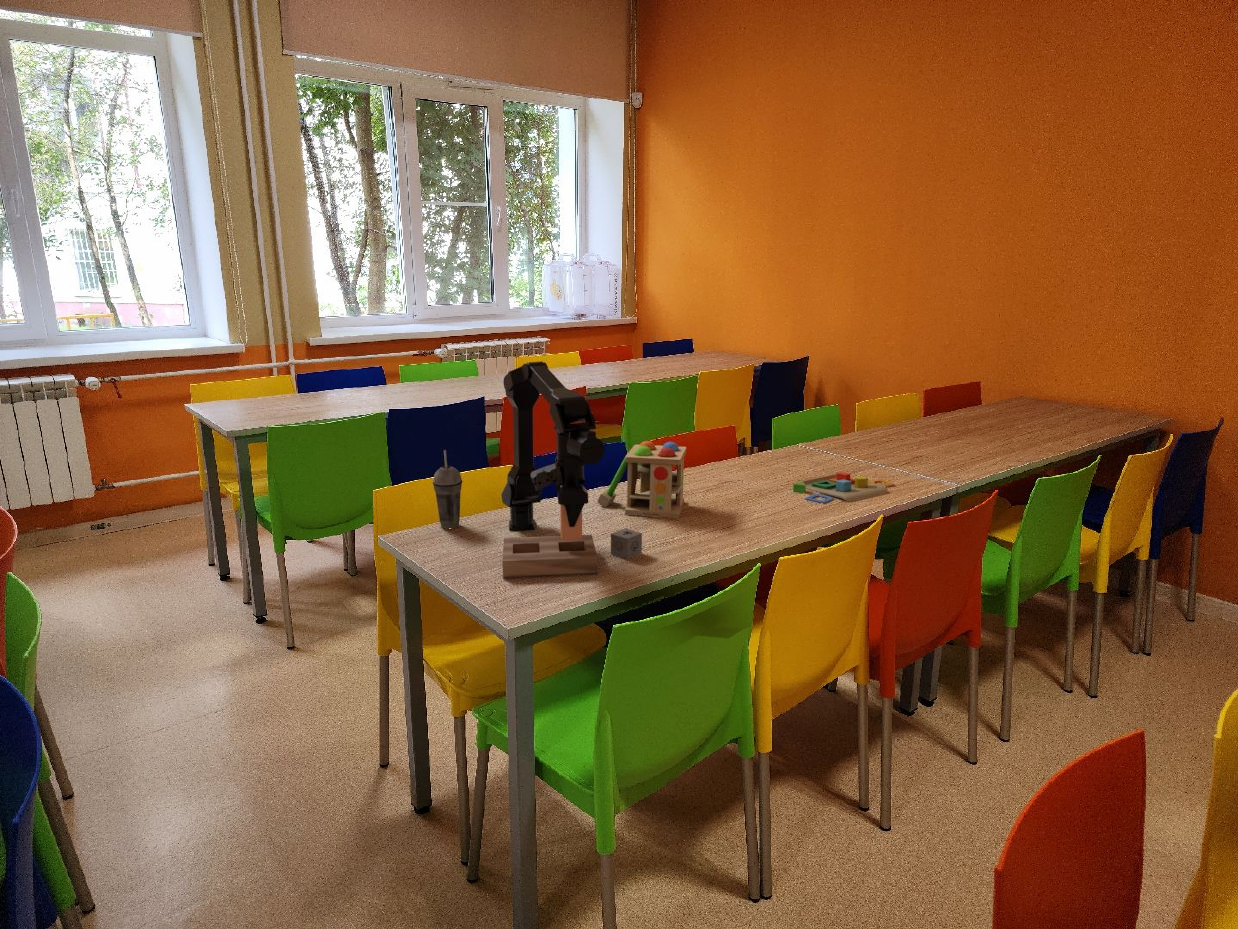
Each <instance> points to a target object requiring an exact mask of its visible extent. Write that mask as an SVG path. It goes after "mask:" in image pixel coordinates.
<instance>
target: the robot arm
mask: <svg viewBox="0 0 1238 929" xmlns="http://www.w3.org/2000/svg"><path fill="white" fill-rule="evenodd" d="M502 382H503V387H504V390H505V396H506V398H507V400H508V401H509V402H510V405H512V423H513V424H512V427H513V428H512V430H513V431H512V432H513V433H512V435H513V437H512V438H513V464H512V466H511V468H510V470H509V471H508V473H507V481H506V484H505V486H504V488H503V490H502V492H501V496H500V497H501V502H502V504H504V505H505V506H506V507H508V508H509V512H510V513H509V514H510V515H509V516H510V520H508V521H509V522H508V530H509V531H520V530H521V531H525V530H526V531H527V530H535V529H536V520H535V519H534V504H537V503H541V502H542V496H543V495H542V494H543V489H544V488H546V487H548V486H551V485H554V484H556V485H555V488H556V491H557V502H558V505H559V506H560V505H564V506H565V508H566V513H567V518H568V522H569V527H575V524H576V522H577V520H578V517H579V515H580V513H581V511H582V512H583V508H584V507H585V505H586V504H589V492H588V489H587V488H586V487H585V486H584V485H585V483H586V482H585V480H586V479H585V464H586V465H589V466H594V465H596V464H598V463H599V462H600V461H601V460H602V459H603V457H604V455H605V451H606V449H605V448H606V447H605V445H604V442H603V441H602V440H601V439H600V438H598V437H597V432H596V431H595V430H597V426H596V418H595V416H594V414H593V412H592V410H591V408H590V404H589V402H588V400H587V398H586V397H585V396H584V395H583V394H581V393H580V392H578V391H576V390H572V389H568V388H567V387H566V386H565V385H564V384H563V383H562V382H561V381H560V380H559V379H558V378H557V376H556V375H555V374H554V373H553V372H552V371H551V370H550V369H549V367H548V364H547V362H545V361H541V360H540V361H530V362H526V363H523V364H522V365H521V366H519V367H517V368H514V369H512V370H509V371H508V372H507V374H506V375H505V376H504V377H503V381H502ZM540 396H542V397H543V398H544V400H545V401H546V402H547V403H548V404H549V410H548V413H549V415H550V417H551V419H552V420H553V423H554V424H555V425H553V430H554V431H556V457H555V459H554V462H555V463H552V464H548V465H546V466H543V467H541V468H538V469H537V468H536V467H535V463H534V459H535V458H534V407H535V406H536V404H537V401H538V400H539V398H540Z"/></svg>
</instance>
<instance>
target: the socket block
mask: <svg viewBox="0 0 1238 929" xmlns="http://www.w3.org/2000/svg"><path fill="white" fill-rule="evenodd" d="M502 548H503V549H502V561H501V562H502V579H503V580H505V579H506V580H507V579H528V578H530V579H531V578H549V577H552V578H553V577H574V576H593V575H594V576H598V555H597V550H596V546H595V541H594V537H593V535H592V534H582V539H579V540H562V539H561V535H550V536H549V535H548V536H547V535H546V536H544V535H543V536H523V537H522V536H521V537H503V546H502Z"/></svg>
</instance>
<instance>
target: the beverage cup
mask: <svg viewBox="0 0 1238 929" xmlns="http://www.w3.org/2000/svg"><path fill="white" fill-rule="evenodd" d="M443 456H444V457H443V458H444V466H441V467H439V468H438V469H437V470H436V472H434V475H433V480H432V485H433V490H434V492H435V500H436V505H437V512H438V517H439V522H440V524H439V525H440V528H441V529H443V528H445V529H444V530H450V529H449V528H455V529H457V527H458V528H459V527H460V519H461V492H462V487H463V486H462V485H463V479H462V475H461V473H460V472H459V470H458V469H457V468H455V467H453V466H451V465H448V461H447V458H448V457H447V450H446V449H444V450H443Z"/></svg>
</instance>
